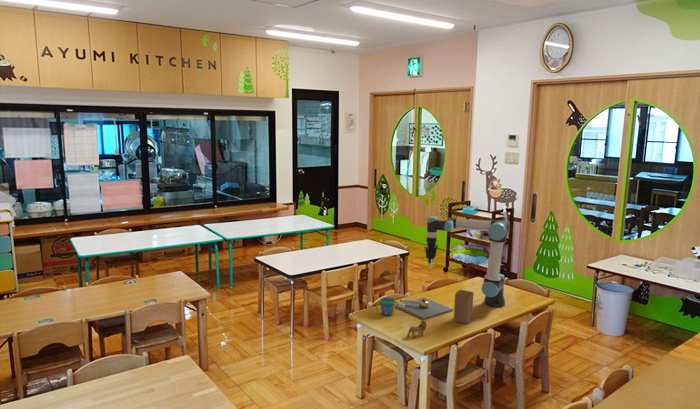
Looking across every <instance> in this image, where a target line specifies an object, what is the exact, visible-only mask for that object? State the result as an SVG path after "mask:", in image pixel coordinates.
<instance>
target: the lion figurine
mask: <svg viewBox="0 0 700 409" xmlns="http://www.w3.org/2000/svg"><path fill="white" fill-rule="evenodd" d="M427 323H428V322H426V320H423V319H422V320H421V321H420V323H419V325H417V326H416V325H415V326H414V325H412V326H410V327H409V329H408V332H407V337H410V333H411V335H412V337H413V338H416V336H414V335H415V332H416V333H418V335H419V336H420V335H421V337H424V331H425V330H426V329H427Z"/></svg>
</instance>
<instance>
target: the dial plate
mask: <svg viewBox="0 0 700 409" xmlns="http://www.w3.org/2000/svg"><path fill="white" fill-rule="evenodd" d="M422 299H426V300H428V301H429V308H420V307H419V304H412V303H403V302H402V303H401V302H400V303H398V305H399V308H398V309H397V304H394V308H396V309H397V310H401V311H403V312H405V313H408V314H409V315H411V316H414V317H416V318H419V319H421V320H422V321H423V320H424V321H426V320H429V319H431V318H435V317H438V316H442V315H445V314H448V313H450V312H451V313H452V312H454V308H451V307H449V306H446V305H444V304H441V303H439V302H436V301H434V300H432V299H429V298H427V297H425V296H424V297H420V298H417V299H416V298H415V300H417V301H420V300H422Z"/></svg>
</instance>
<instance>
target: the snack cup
mask: <svg viewBox="0 0 700 409" xmlns="http://www.w3.org/2000/svg"><path fill="white" fill-rule="evenodd" d="M395 303H396V304H395ZM378 304H380V308H381V314H382V315H383V316H392V315H393V313H394V308H395V305H397V308H396V309H397V310H399V309H398V308H399V305H398V304H399V303H398V301H397V300H396V299H394V298H392V297H382V298H380V299H379V300H378V301H377V303H376V305H375V306H376V309H378Z"/></svg>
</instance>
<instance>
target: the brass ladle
mask: <svg viewBox="0 0 700 409" xmlns="http://www.w3.org/2000/svg"><path fill="white" fill-rule="evenodd" d="M398 301H399V303H400V304H401V303H412V304H419V307H420V308H429V301H428V300H426V299H422V300H420V301H417V300H416V299H407V298H399V300H398Z"/></svg>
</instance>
